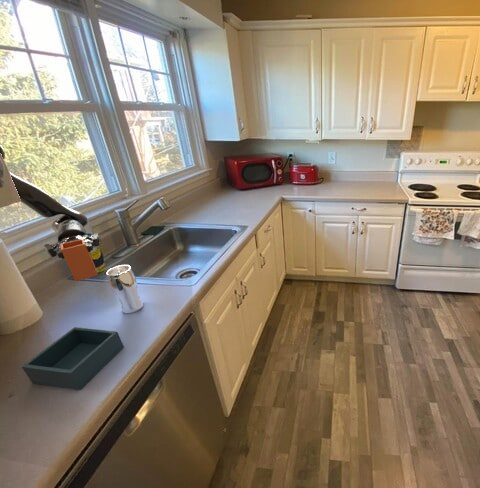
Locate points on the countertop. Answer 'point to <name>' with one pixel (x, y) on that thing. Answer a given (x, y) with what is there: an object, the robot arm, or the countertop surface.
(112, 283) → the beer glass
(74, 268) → the small bin
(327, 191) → the countertop surface
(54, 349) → the big bin
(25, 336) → the countertop surface
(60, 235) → the robot arm
